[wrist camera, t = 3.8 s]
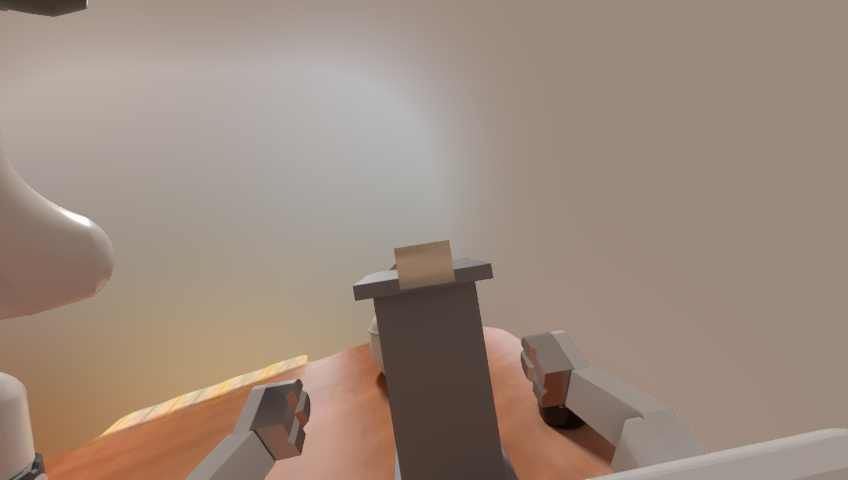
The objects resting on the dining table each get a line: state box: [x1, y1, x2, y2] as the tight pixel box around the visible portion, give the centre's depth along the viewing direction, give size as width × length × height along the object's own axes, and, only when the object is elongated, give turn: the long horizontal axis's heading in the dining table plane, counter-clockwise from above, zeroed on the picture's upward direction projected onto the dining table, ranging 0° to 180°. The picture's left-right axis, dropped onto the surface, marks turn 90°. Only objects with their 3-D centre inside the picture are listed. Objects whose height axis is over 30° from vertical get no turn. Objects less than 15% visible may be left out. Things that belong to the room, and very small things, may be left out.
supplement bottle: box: [537, 400, 585, 429], centre depth 45 cm, size 7×7×12 cm
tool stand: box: [353, 258, 518, 480], centre depth 36 cm, size 13×14×26 cm
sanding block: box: [394, 240, 455, 290], centre depth 32 cm, size 21×4×3 cm, turn 3°
